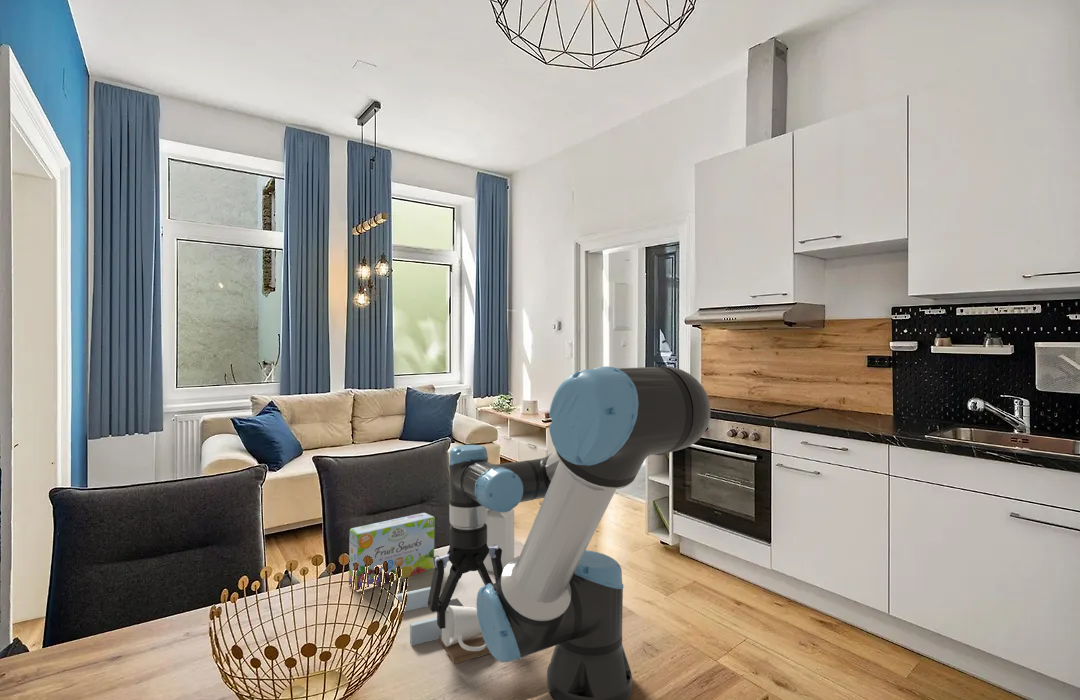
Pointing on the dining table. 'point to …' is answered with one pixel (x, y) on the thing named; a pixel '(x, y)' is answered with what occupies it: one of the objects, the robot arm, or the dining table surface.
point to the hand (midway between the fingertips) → (468, 636)
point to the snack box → (393, 547)
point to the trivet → (461, 654)
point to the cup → (464, 626)
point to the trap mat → (455, 602)
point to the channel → (424, 628)
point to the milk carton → (500, 536)
